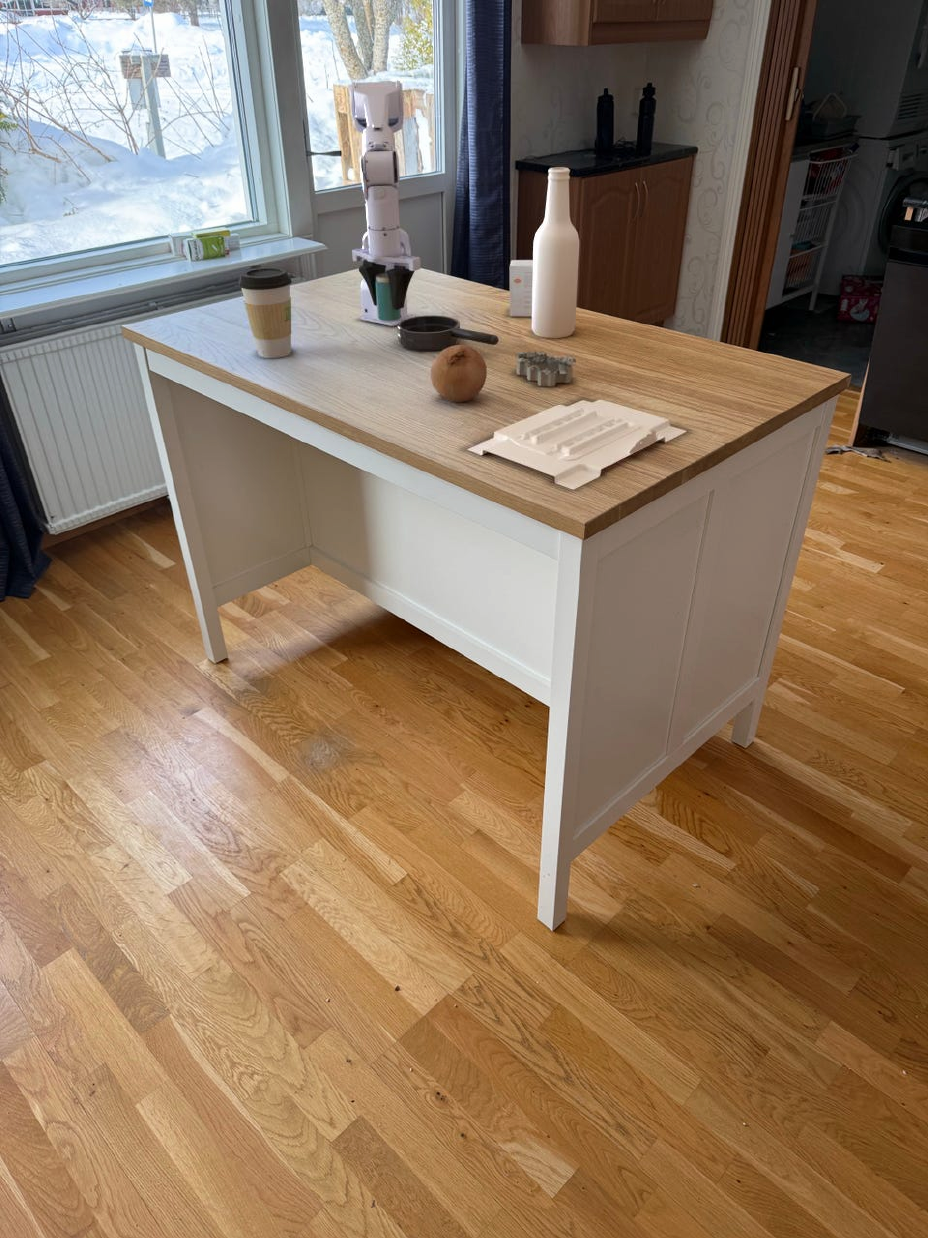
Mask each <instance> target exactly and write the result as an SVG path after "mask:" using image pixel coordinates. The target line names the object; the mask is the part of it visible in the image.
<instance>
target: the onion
mask: <svg viewBox="0 0 928 1238" xmlns="http://www.w3.org/2000/svg"><path fill="white" fill-rule="evenodd" d="M487 370H488V369H487V364H486V362H485V359H484V358H483V356H482V354H481V353H480V352H479V351H478V350H476V349H475V348H473V347H471V346H470V345H469V346H468V345H464V344H456V345H454V346H451V347H448V348H446V349H443V350H441V351H440V352H439V354H437V356H436V357H435V358H434V360H433V361H432V363H431V368H430V381H431V384H432V387H433V388H434V390H435V392H436V393H437V396H438V397H439V398H440V399H442V400H443V399H444V400H448V401H451V402H455V403H463V402H469V401H471V400H472V399H474V398H475V397H477V396H478V395H479V393H480V392H481V391H482V389H483V388H484V386H485V384H486V381H487V375H488V372H487Z"/></svg>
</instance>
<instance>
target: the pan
mask: <svg viewBox="0 0 928 1238" xmlns="http://www.w3.org/2000/svg"><path fill="white" fill-rule="evenodd" d="M454 327H456V328H461V322H460V321H459V320H458V319H456V318H454V317H450V316H447V315H446V316H445V315H419V316H417V315H416V317H412V318H408V319H405V320H402V321H401V322H399V323H398V325H397V339H398V343H399V345H401V346H403V347H404V348H406V349H409V350H413V351H421V352H434V351H435V352H437V351H443V350H445V349H446V348H448V347H451V346H455V345H458V344H459V342H460V341H461V338H456V337H453V336H452V335H451V329H452V328H454Z"/></svg>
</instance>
